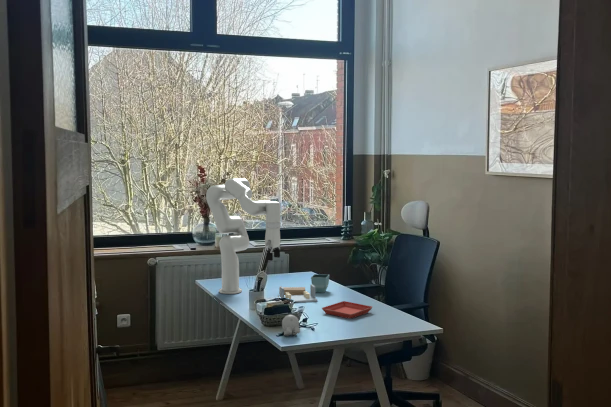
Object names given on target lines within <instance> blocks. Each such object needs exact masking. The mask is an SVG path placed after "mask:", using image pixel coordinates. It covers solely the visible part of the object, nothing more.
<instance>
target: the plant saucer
mask: <svg viewBox="0 0 611 407" xmlns="http://www.w3.org/2000/svg"><path fill="white" fill-rule="evenodd" d="M372 309H373V306H372V305H366V304H360V303H355V302H350V301H346V300H343V301H340V302H337V303H336V302H335V303H333V304H330V305H327V306H323V307H321V310H322V311H323V312H324V314H326V315H332V316H336V317H341V318H345V319H350V320H351V319H353V318H356V317H360V316H362V315H366V314H368V313H369V312H370V311H371V310H372Z"/></svg>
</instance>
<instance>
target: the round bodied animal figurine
mask: <svg viewBox="0 0 611 407" xmlns="http://www.w3.org/2000/svg"><path fill="white" fill-rule="evenodd" d="M281 326H282V331H283V335H284V336H286V337H289V336H290V335H292V336H296V335H298V334H299V333H301V329H300V321H299V318H298V317H297V316H296V315H294V314H287V315H285V316H284V317H283V319H282V320H281Z"/></svg>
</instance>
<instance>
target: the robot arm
mask: <svg viewBox="0 0 611 407" xmlns="http://www.w3.org/2000/svg"><path fill="white" fill-rule="evenodd" d="M252 197H253V190H252V189H251V183H250V181H249V180H248V179H246V178H244V177H237V178H229V179H228V180H226V181H225V183H224V184H216V185H212V186H210V187H208V189H207V190H206V194H205V198H206V202H207V206H208V207H209V209H210V211H211V214H212V216H213V219H214V223H215V226H216V230H217V231H218V233H219V234H222V235H224V236H222V237H221V238H220V240H219V244H218V245H219V250H220V257H221V259H220V260H221V262H220V263H221V288H220V289H218V292H219V293H220V294H224V295H225V294H226V295H234V294H240V293H242V291H243V289H242V288H240V262H239V261H240V259H239V256H238V254H237V253H236V252H241V251H245V250H247V249H248V248H249V246H250V239H249V235H248V232H247V229H246V225H245V223H244V221H243V219H242V218H241V217H240V216H238V215H230V214H229V211H228V208H227V207H226V205H225V204H224V203H223V202H222V201H226V200H227V201H228V200H235V199H236V200H237V201H239V205H240V207H241V209H242V211H244V212H246V214H248V215H250V216H253V217H257V216H265V235H264V236H265V237H264V248H265V252H266V261H273V259H274V258H279V259H280V257H281V231H280V230H281V203H280V202H279V201H271V200H269V199H268V200H252Z"/></svg>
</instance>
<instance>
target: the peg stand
mask: <svg viewBox="0 0 611 407" xmlns="http://www.w3.org/2000/svg"><path fill="white" fill-rule="evenodd" d="M309 285H310V292H309V291H307V290H305V291H304V295H291V294H290V293H289V292H288V293H285V296H284V288H283V286H282V285H280V286H279V287H280V297H281V298H284V297H285V298H289V299H294V301H295V302H301V303H312V302H313V303H315V302H318V298H316V292H315V286H314V285H312V283H311V284H309Z"/></svg>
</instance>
